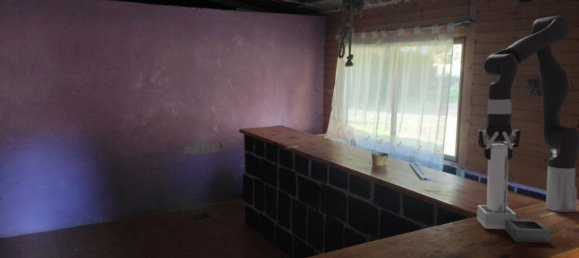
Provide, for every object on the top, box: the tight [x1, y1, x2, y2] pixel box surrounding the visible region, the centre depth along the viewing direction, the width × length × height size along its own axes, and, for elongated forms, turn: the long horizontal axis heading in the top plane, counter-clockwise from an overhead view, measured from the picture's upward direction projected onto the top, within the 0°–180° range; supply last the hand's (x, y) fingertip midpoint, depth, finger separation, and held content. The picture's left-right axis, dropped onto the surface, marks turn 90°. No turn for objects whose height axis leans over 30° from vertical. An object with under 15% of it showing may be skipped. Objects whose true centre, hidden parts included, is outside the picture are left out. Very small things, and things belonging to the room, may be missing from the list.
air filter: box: [486, 143, 509, 213], centre depth 154 cm, size 6×6×25 cm
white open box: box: [476, 204, 517, 230], centre depth 156 cm, size 10×10×6 cm
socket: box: [504, 219, 551, 244], centre depth 143 cm, size 10×10×4 cm
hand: (497, 159), depth 154 cm, fingers closed on air filter, 6 cm apart
